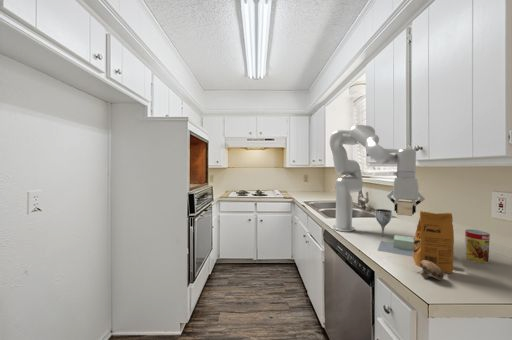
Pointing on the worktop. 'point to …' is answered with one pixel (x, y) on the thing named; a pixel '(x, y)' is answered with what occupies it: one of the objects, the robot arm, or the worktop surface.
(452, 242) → the coffee package
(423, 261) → the mushroom
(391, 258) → the worktop surface
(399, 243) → the sage slab
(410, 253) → the building board
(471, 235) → the canned food
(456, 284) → the worktop surface
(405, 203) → the maple cube
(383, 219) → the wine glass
